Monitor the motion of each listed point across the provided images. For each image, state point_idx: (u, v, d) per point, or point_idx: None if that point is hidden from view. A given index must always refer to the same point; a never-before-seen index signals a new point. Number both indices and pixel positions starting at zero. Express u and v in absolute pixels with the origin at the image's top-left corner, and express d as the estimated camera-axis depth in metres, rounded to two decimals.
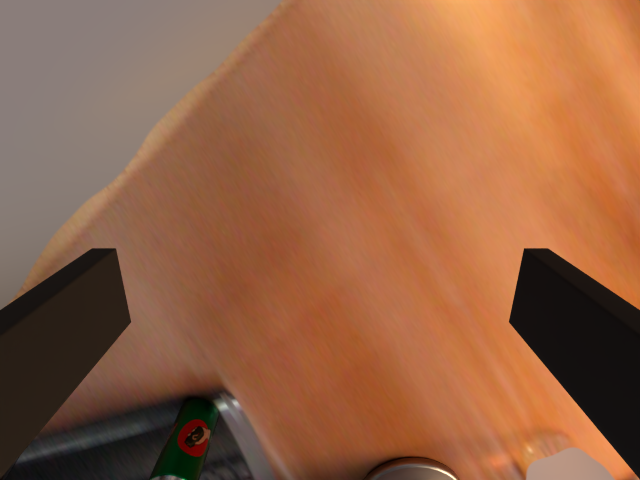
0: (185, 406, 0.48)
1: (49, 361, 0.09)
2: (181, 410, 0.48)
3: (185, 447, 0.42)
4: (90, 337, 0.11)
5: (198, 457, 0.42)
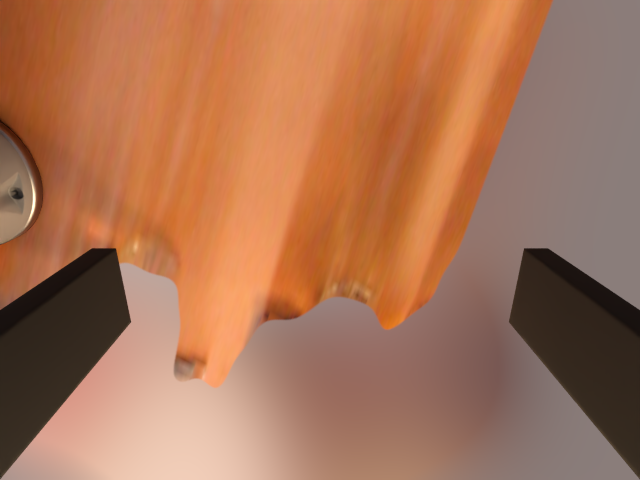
0: None
1: (49, 361, 0.09)
2: None
3: None
4: (90, 337, 0.11)
5: None
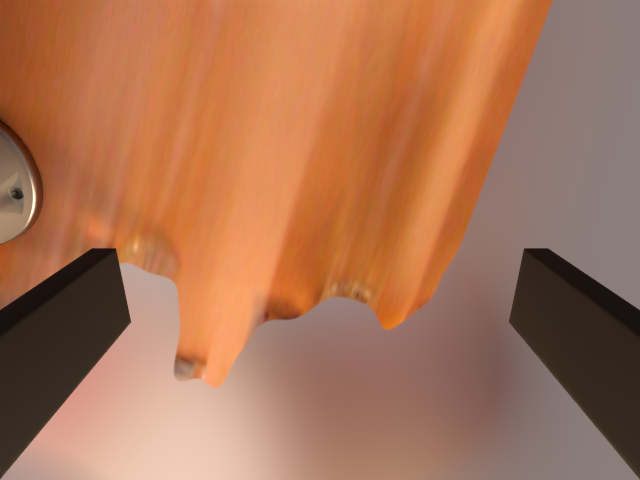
0: None
1: (49, 361, 0.09)
2: None
3: None
4: (90, 337, 0.11)
5: None
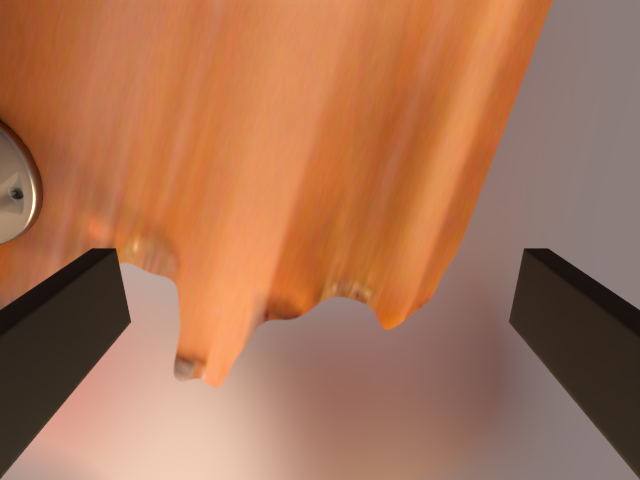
0: None
1: (49, 361, 0.09)
2: None
3: None
4: (90, 337, 0.11)
5: None
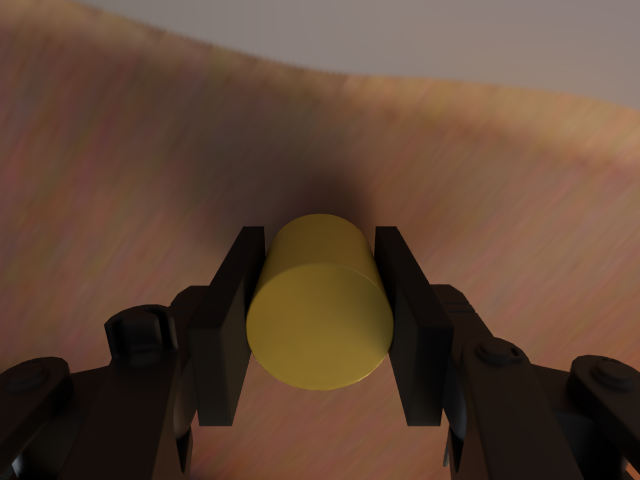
0: None
1: None
2: None
3: None
4: None
5: None
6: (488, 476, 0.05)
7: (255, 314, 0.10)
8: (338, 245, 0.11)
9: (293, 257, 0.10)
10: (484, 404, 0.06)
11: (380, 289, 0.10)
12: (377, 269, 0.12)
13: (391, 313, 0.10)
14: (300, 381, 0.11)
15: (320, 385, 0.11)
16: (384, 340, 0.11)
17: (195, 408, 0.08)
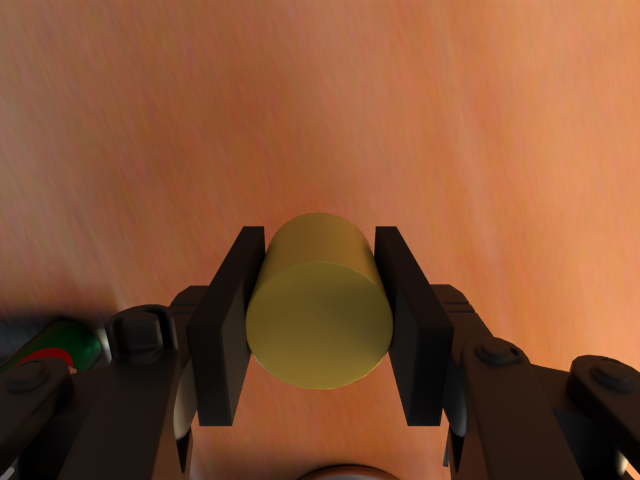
0: (47, 327, 0.31)
1: None
2: (40, 332, 0.30)
3: None
4: None
5: None
6: (488, 476, 0.05)
7: (254, 313, 0.10)
8: (337, 244, 0.11)
9: (292, 256, 0.10)
10: (484, 404, 0.06)
11: (379, 288, 0.10)
12: (376, 268, 0.12)
13: (390, 312, 0.10)
14: (299, 380, 0.11)
15: (319, 384, 0.11)
16: (383, 339, 0.11)
17: (195, 408, 0.08)
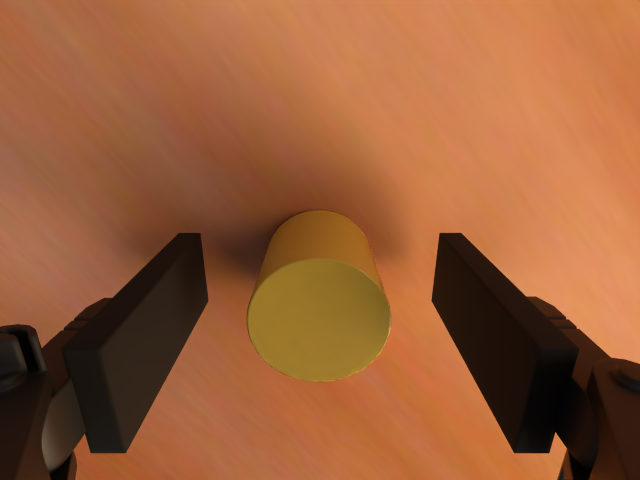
0: None
1: (166, 327, 0.10)
2: None
3: None
4: (187, 310, 0.12)
5: None
6: None
7: (256, 308, 0.11)
8: (336, 241, 0.11)
9: (293, 253, 0.11)
10: (625, 431, 0.06)
11: (377, 283, 0.10)
12: (375, 264, 0.12)
13: (388, 307, 0.11)
14: (300, 373, 0.11)
15: (319, 377, 0.12)
16: (381, 333, 0.11)
17: (80, 435, 0.08)
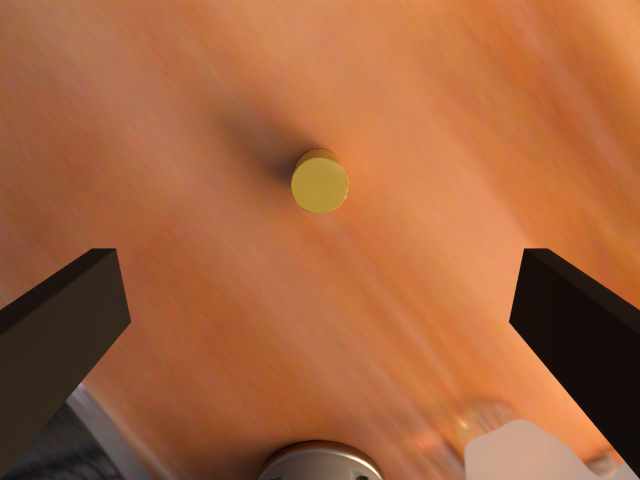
0: None
1: (49, 362, 0.09)
2: None
3: None
4: (90, 337, 0.11)
5: None
6: None
7: (294, 178, 0.27)
8: (326, 155, 0.28)
9: (309, 157, 0.27)
10: None
11: (342, 168, 0.27)
12: (343, 168, 0.29)
13: (346, 178, 0.27)
14: (311, 209, 0.28)
15: (319, 211, 0.28)
16: (344, 190, 0.27)
17: None
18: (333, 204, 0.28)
